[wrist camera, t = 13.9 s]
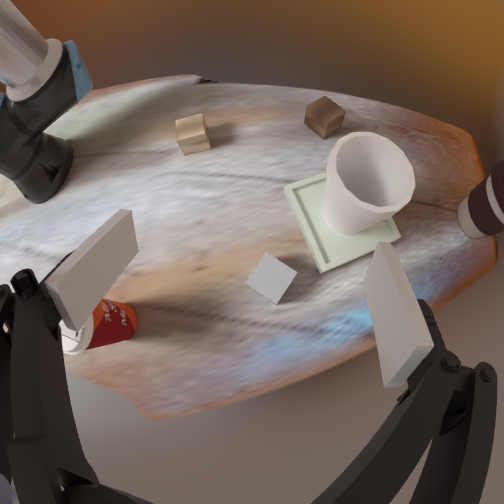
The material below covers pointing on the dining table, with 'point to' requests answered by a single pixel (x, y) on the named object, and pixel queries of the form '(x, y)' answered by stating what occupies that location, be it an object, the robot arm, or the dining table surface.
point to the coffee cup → (484, 206)
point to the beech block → (192, 134)
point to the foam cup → (365, 182)
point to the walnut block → (324, 117)
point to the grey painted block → (271, 278)
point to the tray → (322, 236)
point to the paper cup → (101, 328)
